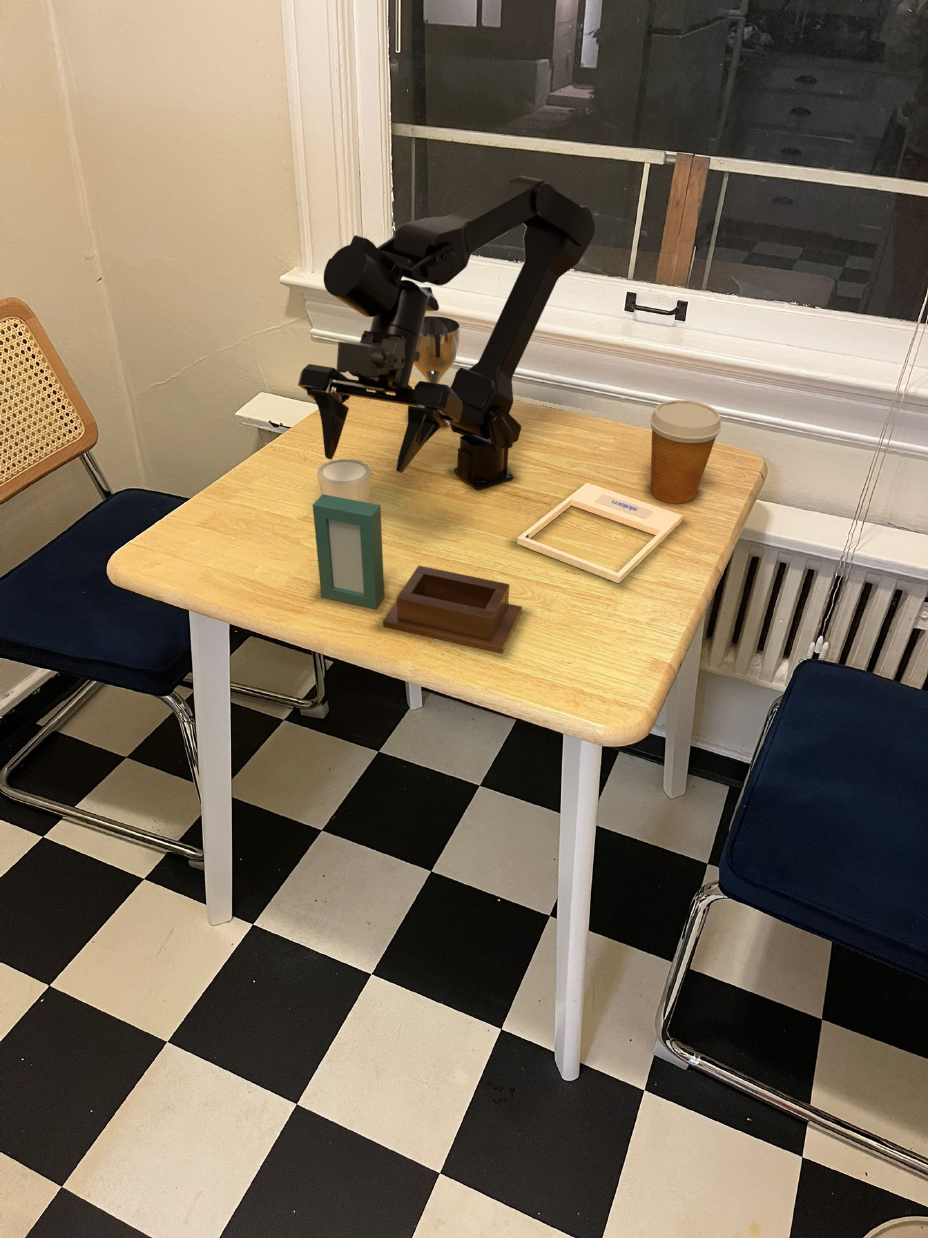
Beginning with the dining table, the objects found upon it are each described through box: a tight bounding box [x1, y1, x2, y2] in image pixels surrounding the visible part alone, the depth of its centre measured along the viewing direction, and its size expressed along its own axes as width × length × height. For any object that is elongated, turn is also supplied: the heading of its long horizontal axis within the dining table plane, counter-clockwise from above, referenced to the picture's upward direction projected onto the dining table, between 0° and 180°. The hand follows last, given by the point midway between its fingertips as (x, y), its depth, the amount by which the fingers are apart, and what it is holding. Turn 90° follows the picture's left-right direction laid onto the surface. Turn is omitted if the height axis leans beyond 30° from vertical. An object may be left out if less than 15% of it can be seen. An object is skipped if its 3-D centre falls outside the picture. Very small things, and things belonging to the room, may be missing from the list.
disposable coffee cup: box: [649, 399, 723, 504], centre depth 124 cm, size 10×10×12 cm
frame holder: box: [382, 565, 523, 654], centre depth 102 cm, size 8×14×4 cm, turn 72°
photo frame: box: [516, 482, 684, 584], centre depth 118 cm, size 15×1×18 cm
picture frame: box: [312, 494, 385, 610], centre depth 103 cm, size 2×7×12 cm, turn 72°
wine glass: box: [413, 315, 460, 426], centre depth 141 cm, size 8×8×15 cm
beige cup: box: [316, 458, 372, 503], centre depth 119 cm, size 7×7×7 cm
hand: (363, 465), depth 105 cm, fingers open, 9 cm apart
